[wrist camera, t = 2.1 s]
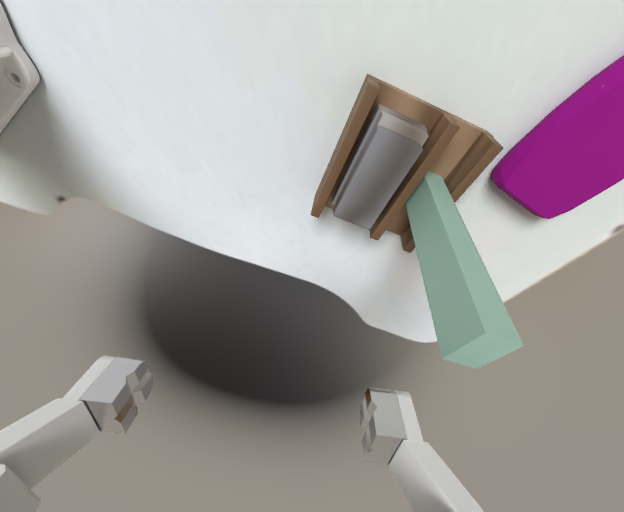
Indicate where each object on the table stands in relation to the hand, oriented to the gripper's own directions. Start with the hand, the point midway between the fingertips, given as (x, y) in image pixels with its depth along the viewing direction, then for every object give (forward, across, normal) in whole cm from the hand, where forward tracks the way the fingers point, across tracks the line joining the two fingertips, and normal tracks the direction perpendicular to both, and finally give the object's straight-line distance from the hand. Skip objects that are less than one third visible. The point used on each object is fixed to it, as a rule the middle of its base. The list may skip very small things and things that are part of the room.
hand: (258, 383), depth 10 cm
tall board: (+24, +13, +2) cm, 28 cm away
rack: (+26, +9, +4) cm, 28 cm away
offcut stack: (+24, +7, +4) cm, 26 cm away
